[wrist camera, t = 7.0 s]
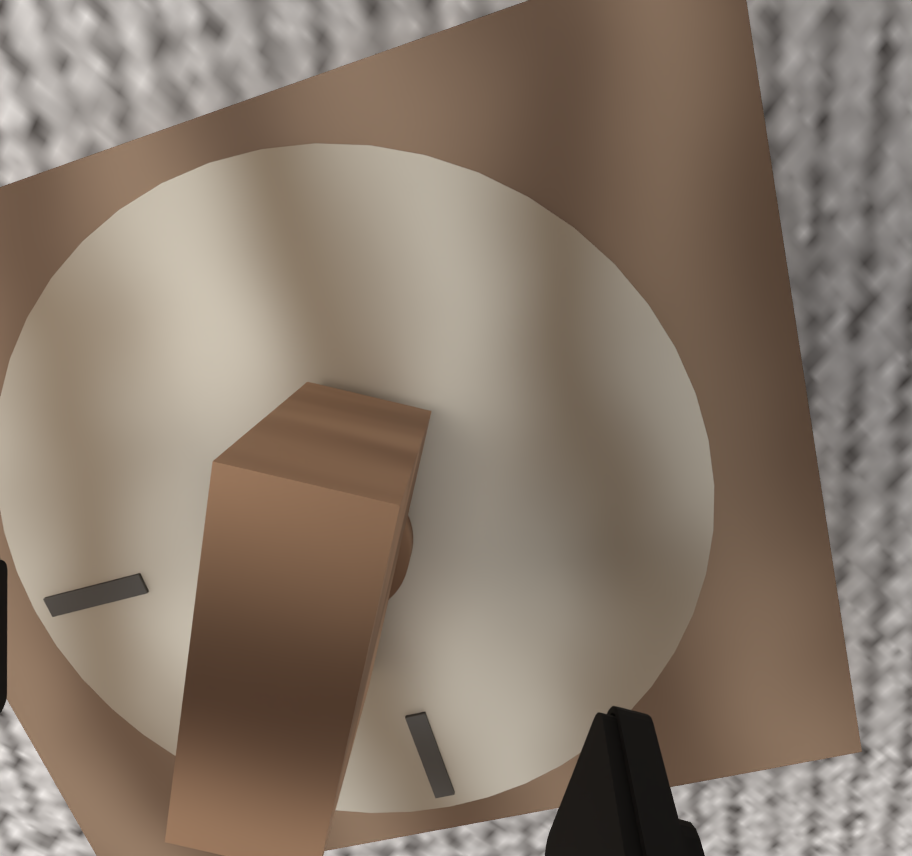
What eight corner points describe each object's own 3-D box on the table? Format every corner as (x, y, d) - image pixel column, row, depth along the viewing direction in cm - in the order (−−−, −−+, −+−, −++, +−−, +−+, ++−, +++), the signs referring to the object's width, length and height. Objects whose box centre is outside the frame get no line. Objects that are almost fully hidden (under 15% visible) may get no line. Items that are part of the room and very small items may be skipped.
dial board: (711, -44, 15) (740, -80, 13) (835, 714, 20) (867, 759, 19) (-181, 267, 18) (-252, 272, 16) (139, 849, 24) (110, 898, 22)
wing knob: (301, 373, 16) (193, 456, 10) (445, 408, 16) (418, 509, 10) (236, 772, 20) (131, 996, 14) (353, 799, 20) (297, 1033, 14)
